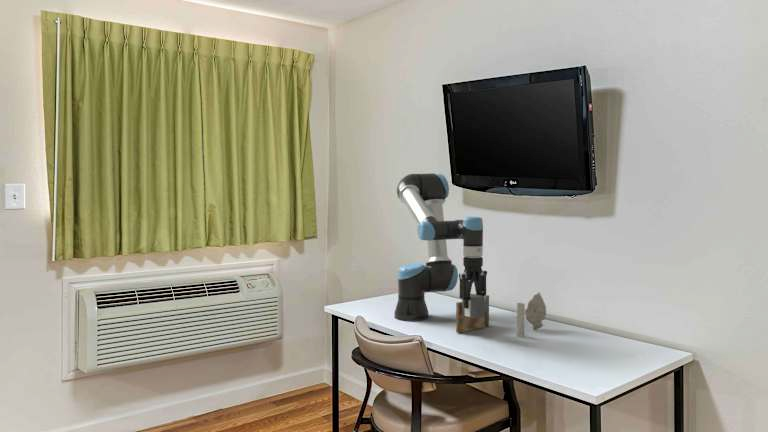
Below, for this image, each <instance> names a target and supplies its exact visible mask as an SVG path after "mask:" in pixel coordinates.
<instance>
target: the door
mask: <svg viewBox="0 0 768 432" xmlns="http://www.w3.org/2000/svg"><path fill="white" fill-rule="evenodd" d="M455 306H456V307H455V308H456V310H455V311H456V313H455V315H456V316H455V317H456V319H455V322H456V326H455V328H456V330H455V331H456V333H458V334H459V333H464V332H468V331H473V330H477V329H481V328H482V329H483V328H486V327H485V298H484V317H480V318H471V317H467V316H463V315H462V301H458V302H456V304H455Z"/></svg>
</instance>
